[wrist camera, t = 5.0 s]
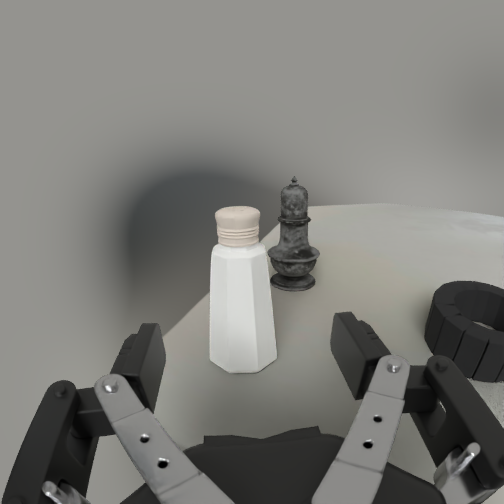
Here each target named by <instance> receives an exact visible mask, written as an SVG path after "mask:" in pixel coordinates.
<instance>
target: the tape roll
mask: <svg viewBox="0 0 504 504" xmlns="http://www.w3.org/2000/svg"><path fill="white" fill-rule="evenodd" d="M472 321H477V322H482V323H484V324H487V325H489V326H491V327H493V328H495V329H496V330H497V331H496V330H491V329H487V328H485V327H483V326H480V325H478V324H475V323H474V322H472ZM425 340H426V342H427V344H428V346H429V348H430V350H431V352H432V353H433V355H442V356H446V357H448V358H450V359H451V360H452V361H453V362H454V363H455V364H456V366H457V367H458V368H459V369H460V370H461V372H462V373H463V374H464V376H466V377H468V378H471V377H472V376H473V380H478V381H485V382H492V383H493V382H494V381H495V382H501V381H504V289H501V288H499V287H496V286H493V285H491V286H490V284H486V283H481V282H475V281H473V282H472V281H454V282H450V283H446V284H443V285H442V286H441V287H440V288H438V289H437V290H436V291H435V293H434V296H433V300H432V304H431V308H430V312H429V315H428V319H427V323H426V328H425Z"/></svg>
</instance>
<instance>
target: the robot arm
mask: <svg viewBox="0 0 504 504" xmlns="http://www.w3.org/2000/svg"><path fill="white" fill-rule="evenodd" d="M330 344H331V351H332V354H333V356H334V358H335V360H336V362H337V364H338V366H339V368H340V370H341V372H342V374H343V376H344V378H345V380H346V382H347V384H348V386H349V389H350V391H351V393H352V395H353V397H354V399H355V400H360V399H363V401H362V403H361V405H360V408H359V410H358V412H357V414H356V417H355V419H354V421H353V423H352V426H351V428H350V430H349V432H348V434H347V436H346V438H342V437H339V436H336V435H331V434H323V433H320V430H319V427H318V426H315V427H309V428H302V429H295V430H290V431H287V432H284V433H281V434H278V435H275V436H271V437H268V438H265V439H257V438H249V437H242V436H235V435H222V436H204V443H203V444H199V445H196V446H193V447H190V448H188V449H186V450H184V451H181V449H180V448H179V447H178V446H177V444H176V443H175V442H174V441H173V440H172V438H171V437H170V436H169V435H168V433H167V432H166V431H165V430H164V428H163V427H162V426H161V424H160V423H159V422H158V420H157V419H156V418H155V416H154V415H153V414H154V410H155V405H156V401H157V396H158V392H159V388H160V383H161V379H162V375H163V371H164V367H165V362H166V353H165V348H164V343H163V339H162V334H161V330H160V326H159V324H157V323H143V324H142V325H141V327H140V329H139V331H138V334H132V335H130V336H129V337H128V338H127V339H126V340H125V341H124V343H123V345H122V349H121V350H120V352H119V355H118V356H117V358H116V361H115V363H114V365H113V368H112V370H111V372H110V374H109V375H105V376H103V377H101V378H100V379H98V380H97V381H96V383H95V385H94V387H92V388H85V389H76V387H75V385H74V384H73V383H72V382H70V381H66V380H61V381H57V382H55V383H53V384H52V385H51V386H50V387H49V388H48V389H47V392H46V393H45V395H44V397H43V399H42V401H41V403H40V405H39V407H38V410H37V412H36V414H35V416H34V418H33V420H32V422H31V425H30V427H29V429H28V431H27V434H26V436H25V438H24V441H23V443H22V445H21V448H20V450H19V453H18V455H17V458H16V460H15V463H14V466H13V468H12V471H11V474H10V477H9V480H8V483H7V485H6V488H5V492H4V495H3V498H2V504H91V503H90V502H89V501H88V500H86V493H87V488H88V483H89V478H90V474H91V469H92V465H93V460H94V456H95V452H96V448H97V444H98V440H99V437H100V436H107V435H114V434H116V435H117V437H118V438H119V440H120V442H121V444H122V445H123V447H124V449H125V451H126V452H127V454H128V456H129V457H130V459H131V461H132V462H133V464H134V465H135V467H136V468H137V470H138V471H139V473H140V474H141V476H142V477H143V479H144V480H145V482H146V483H144V484H143V485H142V486H141V487H140V488H138V490H136V491H135V492H134V493H132V494H131V495H130V496H129V497H127V498H126V499H125V500H124V501H122V502H121V503H120V504H481V503H483V502H484V501H485V500H486V499H488V498H489V497H490V496H491V495H492V494H493V493H495V492H496V491H497V490H498V489H499V488H501V487H502V486H503V485H504V429H503V427H502V426H501V424H500V423H499V421H498V420H497V419H496V417H495V416H494V414H493V413H492V411H491V410H490V409H489V407H488V406H487V405H486V403H485V402H484V400H483V399H482V398H481V396H480V395H479V394H478V392H477V391H476V390H475V388H474V387H473V386H472V385H471V383H470V382H469V381H468V379H467V378H466V377H465V376H464V374H463V373H462V372H461V370H460V369H459V368H458V367H457V366H456V364H455V363H454V362H453V361H452V360H451V359H450V358H448V357H446V356H442V355H435V356H432V357H430V358H429V359H428V361H427V364H426V366H411V365H409V363H408V361H407V360H406V359H404V358H402V357H400V356H397V355H392V354H391V353H390V352H389V350H388V349H387V348H386V346H385V345H384V344H383V342H382V341H381V340H380V339H379V337H378V336H377V334H376V333H375V332H374V330H373V329H372V328H371V326H370V325H368V324H367V323H365V322H364V321H362V320H361V321H358V320H357V319H356V317H355V316H354V315H353V313H352V312H342V313H335V315H334V319H333V326H332V334H331V342H330ZM440 401H441V403H442V405H443V406H444V408H445V410H446V413H445V411H444V409H443V408H442V406H441V405H440ZM402 413H410V415H411V417H412V419H413V421H414V423H415V425H416V427H417V429H418V431H419V433H420V435H421V437H422V439H423V441H424V443H425V445H426V447H427V449H428V451H429V453H430V455H431V457H432V459H433V461H434V463H435V465H436V467H437V469H436V470H435V473H434V483H435V484H434V485H433V484H431V483H429V482H427V481H425V480H423V479H421V478H418V477H416V476H414V475H412V474H410V473H408V472H406V471H404V470H402V469H400V468H398V467H396V466H394V465H392V464H390V463H388V462H387V460H388V457H389V454H390V451H391V448H392V445H393V442H394V439H395V435H396V432H397V429H398V425H399V422H400V418H401V414H402Z"/></svg>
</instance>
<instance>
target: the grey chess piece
mask: <svg viewBox="0 0 504 504" xmlns="http://www.w3.org/2000/svg"><path fill="white" fill-rule="evenodd" d="M296 181H297V180H296V178H295V176H294V177H293V178H292V184H290V185H289V186H286V187H285V188H283V190H282V191H281V216H280V217H278V221H280V240H279V244H278V245H277V246H274V247H272V248H270V249H269V250H268V255H269V257H271V263H272V266H273V268H274V269H275V270H276V271H277V272H278V273H277V274H275V275H273V276H272V277H271V279H270V282H271V284H272V285H273V286H274V287H276V288H278V289H282V290H287V291H301V290H306V289H309V288H311V287H313V286H314V285H315V278H314V277H313V276H311V275H310V274H308V273H309V272H310V271H311V270H312V269H313V268H314V266H315V264H316V259H317V258H318V257H319V254H320V253H319V251H318V250H317V249H316V248H314V247H311V246H310V245H309V242H308V222H310V221H311V219H310V218H309V217H308V216H307V210H308V193H307V190H306V189H305V188H304V187H302V186H299V184H297V183H296Z"/></svg>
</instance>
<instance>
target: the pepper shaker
mask: <svg viewBox="0 0 504 504" xmlns="http://www.w3.org/2000/svg"><path fill="white" fill-rule="evenodd" d="M215 218H216V221H217V224H218V226H217V229H218V230H217V232H218V233H217V234H218V236H219V239H218V243H219V244H217V245H216V246H214V247H213V251H212V256H211V276H210V277H211V278H210V360H211V361H212V362H213V363H215V364H216V365H218V366H219V367H221V368H222V369H224V370H225V371H227V372H228V373H258V372H259V371H261V370H262V369H263V368H265V367H266V366H267V365H269V364H270V363H271V362H273V361H274V360H275V359H277V350H276V339H275V329H274V319H273V309H272V299H271V290H270V280H269V271H268V262H267V255H266V250H265V246H264V245H263V244H262V243H258V241H259V238H258V234H259V225H258V222H259V218H260V212H259V211H258V210H257V209H255V208H252V207H245V206H235V207H227V208H223V209H220V210H219V211H217V212H216V214H215Z"/></svg>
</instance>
